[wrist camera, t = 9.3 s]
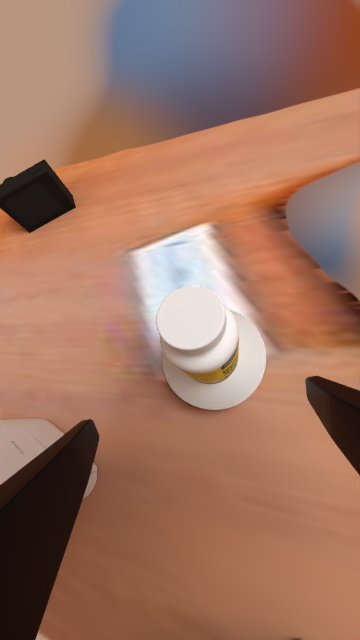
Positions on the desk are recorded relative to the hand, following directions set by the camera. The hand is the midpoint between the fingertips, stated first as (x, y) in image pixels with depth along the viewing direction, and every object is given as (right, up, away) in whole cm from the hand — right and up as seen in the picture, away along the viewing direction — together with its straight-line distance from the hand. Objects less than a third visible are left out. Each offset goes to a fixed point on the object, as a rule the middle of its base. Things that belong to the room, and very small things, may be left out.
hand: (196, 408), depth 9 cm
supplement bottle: (+2, 0, +12) cm, 12 cm away
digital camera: (-26, +25, +33) cm, 49 cm away
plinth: (+3, -1, +14) cm, 14 cm away
